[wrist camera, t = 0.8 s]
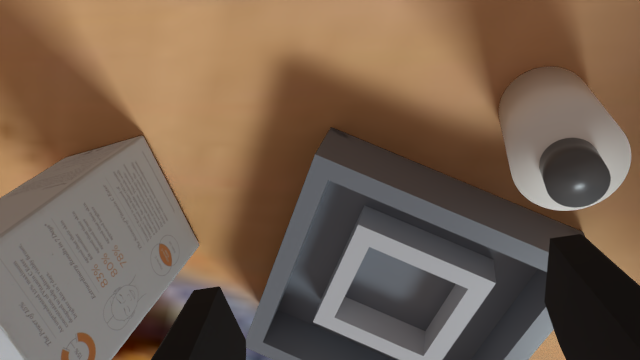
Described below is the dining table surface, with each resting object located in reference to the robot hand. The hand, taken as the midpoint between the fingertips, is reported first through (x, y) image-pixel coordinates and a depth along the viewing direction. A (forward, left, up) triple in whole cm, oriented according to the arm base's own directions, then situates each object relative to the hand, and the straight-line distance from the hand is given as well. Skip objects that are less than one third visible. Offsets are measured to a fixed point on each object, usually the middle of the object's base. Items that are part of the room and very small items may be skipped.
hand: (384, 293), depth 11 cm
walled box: (-3, +11, -15) cm, 19 cm away
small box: (+13, +14, -16) cm, 25 cm away
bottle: (-5, -1, -15) cm, 16 cm away
